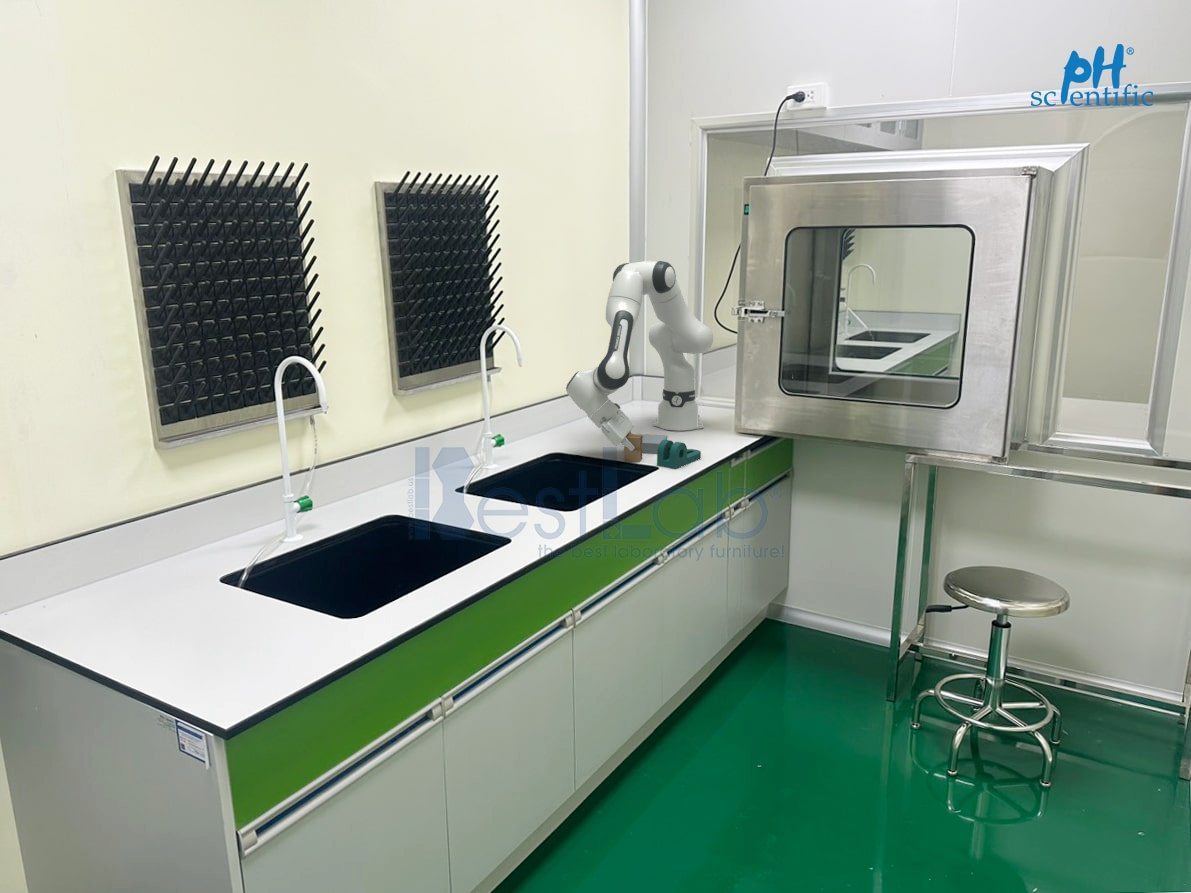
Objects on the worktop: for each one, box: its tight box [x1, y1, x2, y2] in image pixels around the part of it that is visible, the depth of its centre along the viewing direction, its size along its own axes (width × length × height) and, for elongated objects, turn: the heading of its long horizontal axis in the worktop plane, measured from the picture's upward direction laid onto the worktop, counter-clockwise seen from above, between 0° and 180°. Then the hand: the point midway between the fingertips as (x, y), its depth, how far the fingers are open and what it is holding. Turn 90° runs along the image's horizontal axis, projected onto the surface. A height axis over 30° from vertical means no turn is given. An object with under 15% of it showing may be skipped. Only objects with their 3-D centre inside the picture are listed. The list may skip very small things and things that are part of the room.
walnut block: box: [623, 433, 644, 463], centre depth 276 cm, size 5×5×8 cm
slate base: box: [642, 433, 668, 455], centre depth 291 cm, size 12×12×4 cm
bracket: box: [656, 439, 702, 470], centre depth 275 cm, size 18×7×8 cm, turn 143°
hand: (635, 446), depth 276 cm, fingers open, 5 cm apart
